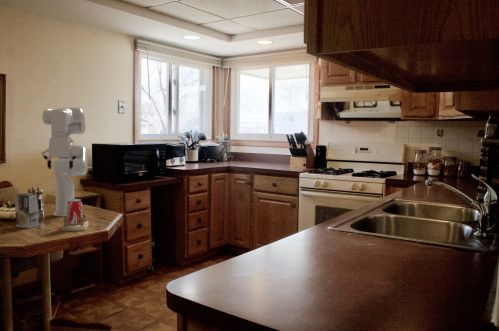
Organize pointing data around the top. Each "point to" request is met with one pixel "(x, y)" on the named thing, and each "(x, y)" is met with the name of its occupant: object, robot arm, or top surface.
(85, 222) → the peg stand
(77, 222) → the soda can
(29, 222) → the coffee box
